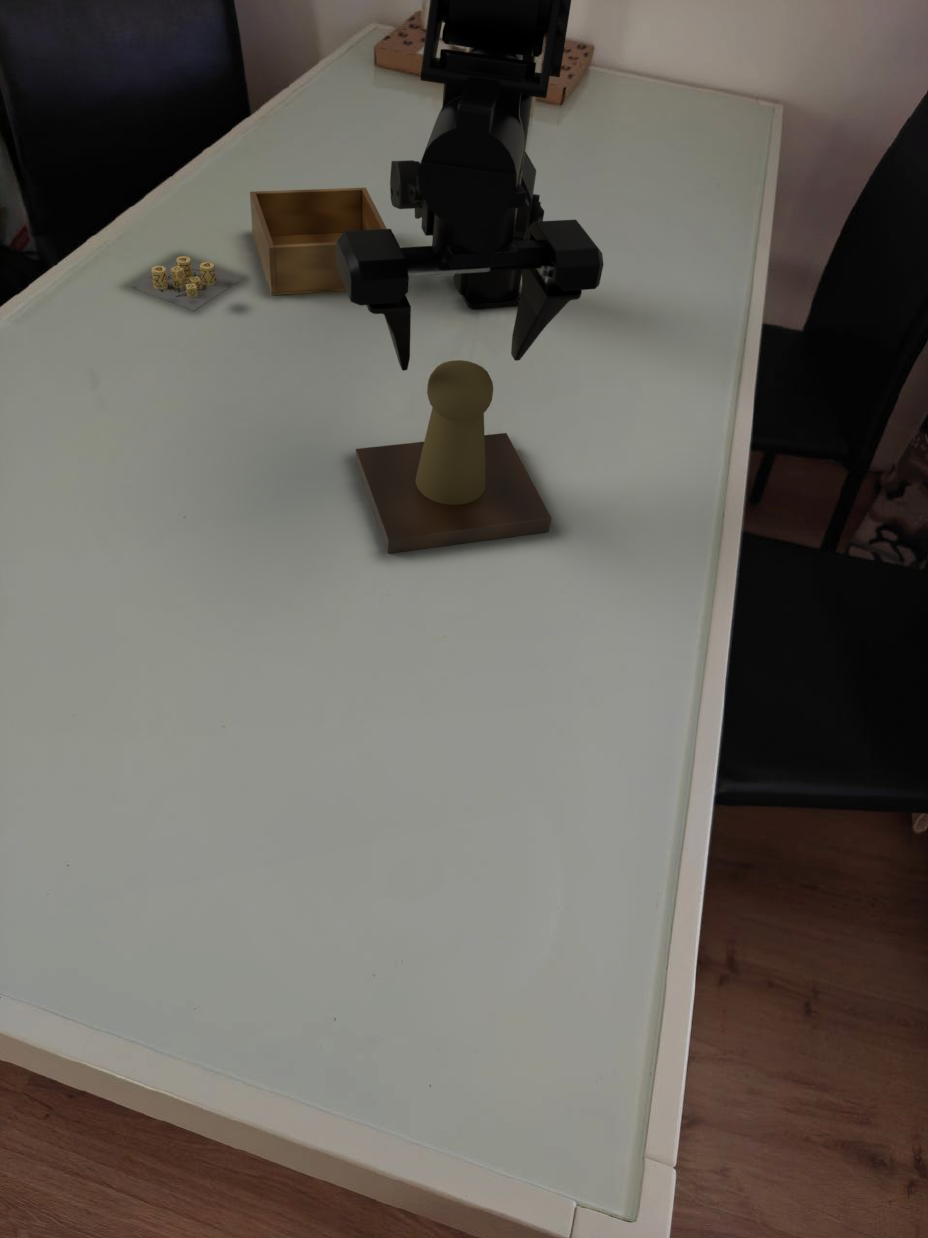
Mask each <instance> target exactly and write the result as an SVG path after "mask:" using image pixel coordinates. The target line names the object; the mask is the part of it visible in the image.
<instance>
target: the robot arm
mask: <svg viewBox="0 0 928 1238" xmlns="http://www.w3.org/2000/svg"><path fill="white" fill-rule="evenodd" d="M428 5H429V7H428V14H427V21H426V22H427V23H426V30H425V36H424V37H425V38H424V46H423V53H422V62H421V68H420V81H422V82H429V83H437V84H443V90H442V91H443V92H442V105H441V109H440V111H439V113H438V115H437V117H436V119H435V122H434V125H433V127H432V131H431V133H430V136H429V138H428V141H427V143H426V146H425V150H424V152H423V155H422V157H421V160H420V161H418V160H412V159H411V160H410V159H409V160H408V159H407V160H391V161H390V162H391V164H390V177H389V186H390V187H389V189H390V190H389V191H390V202H391V206H392V207H393V208H395V209H398V210H411V209H413V210H414V218H415V219H417V220H419V219H421V230H422V232H423V233H424V235H425V236H426V237H428V236H430V237H432V243H431V245H426V246H425V245H424V246H423V245H422V246H406V247H403V246H402V247H401V246H400V244H399V242H398V240H397V238H396V236H395V234H394V232H393V230H392V229H391V228H387V229H375V230H355V231H344V232H343V234H342V235H341V236H340V238H339V239H338V240H337V243H336V267H337V270H338V272H339V275H340V277H341V279H342V282H343V284H344V286H345V289H346V294H347V296H348V299H349V301H350V302H351V303H353V304H356V305H357V306H366V308H367V310H368V311H369V312H370V313H371V314H374V315H383V317H384V318H385V321H386V325H387V329H388V332H389V335H390V338H391V342H392V345H393V349H394V351H395V355H396V358H397V361H398V364H399V367H400V369H401V371H403V372H405V371H408V368H409V364H410V359H411V322H412V306H411V304H410V301H409V299H408V297H407V294H408V293H409V283H410V278H412V277H428V276H443V275H453V276H452V281H453V285H454V287H455V289H456V290H457V292H458V294H459V295H460V296H461V297H462V299H463V301H464V302H465V304H466V306H467V308H470V309H477V308H478V309H479V308H492V307H505V306H506V307H507V306H508V307H509V306H517V311H516V316H515V321H514V326H513V330H512V336H511V349H510V354H511V358H513V360H514V361H515V362H517V361H520V360H521V359H522V358H523V357H524V355H525V354H526V353H527V352H528V350H529V349H530V348H531V346H532V345H533V344H534V342H535V341H536V340H537V339H538V337H539V336H540V335H541V333H542V332H543V331H544V329H545V328H546V327H547V326H548V324H550V322H551V321H552V320H553V319H554V318H555V317H556V316H557V315H558V314H559V313H560V312H561V311H562V310H563V308H565V306H566V305H567V304H568V303H569V302H571V301H577V300H579V299H580V298H581V297H582V294H583V291H586V290H588V291H589V290H596V289H597V288H598V287H599V286H600V283H601V279H602V275H603V270H604V256H603V252H602V251H601V249H600V247H598V246H597V244H596V243H595V242H594V240H592V238H591V237H590V235H589V234H588V233H587V231H586V230H585V229H584V227H583V226H582V225H581V224H580V222H578V220H577V219H561V220H560V219H558V220H544V216H545V209H543V207H542V201H540V197H541V195H540V194H537V193H534V191H535V185H536V184H535V183H536V178H537V169H536V167H535V165H534V164H533V161H532V160H531V158H530V157H529V155H528V153H527V152H526V149H527V140H528V135H529V126H530V120H531V111H532V105H533V97H534V98H540V99H547V96H548V91H549V84H550V77H554V78H560V77H561V71H562V66H563V65H562V64H563V57H564V51H565V44H566V39H567V38H566V37H567V32H568V24H569V17H570V12H571V6H572V0H429V4H428ZM442 27H443V28H442ZM441 32H442V34H441ZM440 37H441V41H442V42H443V43H444V45H450V46H456V47H462V48H463V47H464V48H469V49H468V51H463V50H462V51H461V50H455V49H448V48H441V49H440V51H439V57H437V54H438V49H439V42H440ZM545 38H546V39H545ZM544 45H545V46H544ZM543 50H544V52H543ZM542 54H543V58H542V59H543V60H542V65H541V72H537V71H536V68H537V63H536V58H539V57H540V56H541V55H542ZM520 288H521V291H520Z"/></svg>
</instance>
